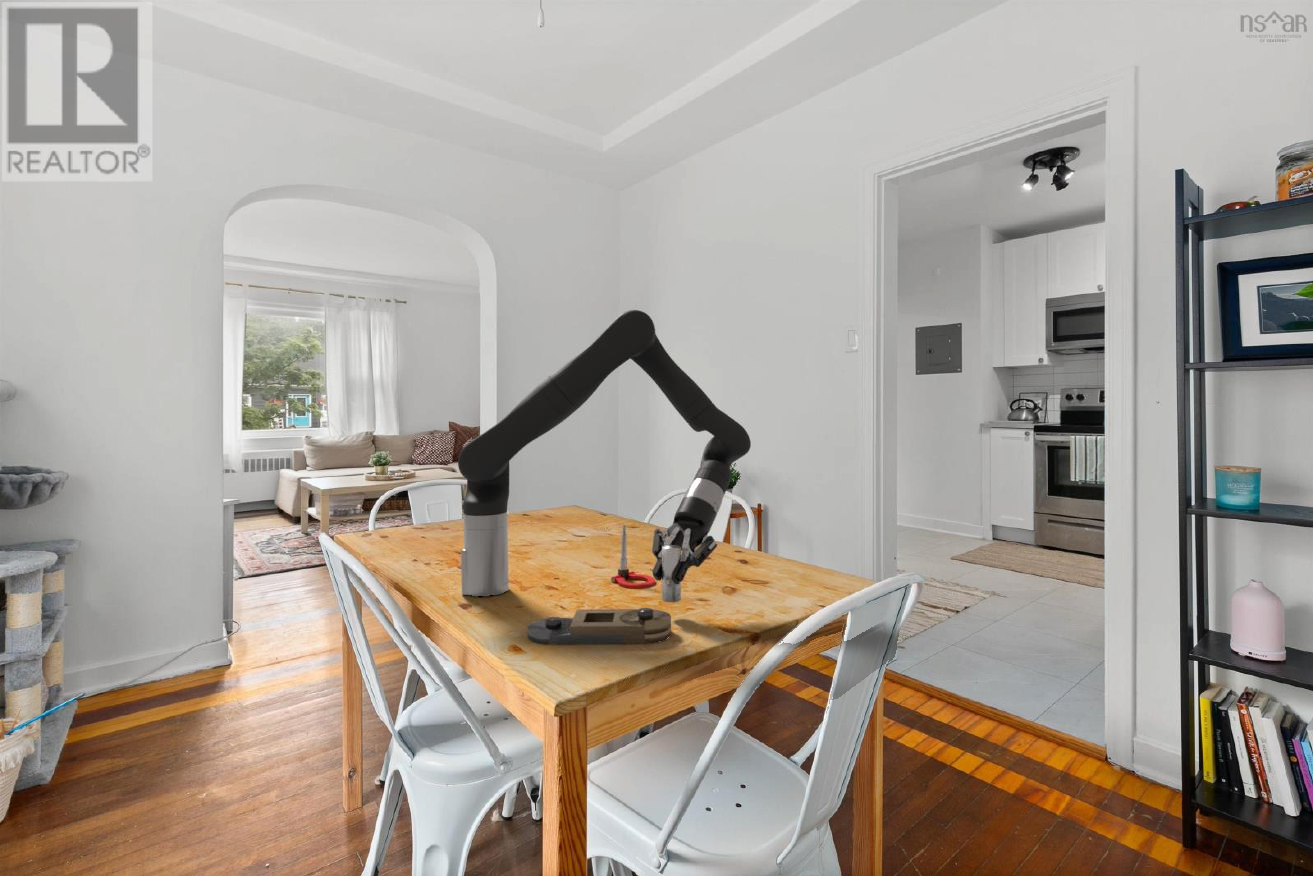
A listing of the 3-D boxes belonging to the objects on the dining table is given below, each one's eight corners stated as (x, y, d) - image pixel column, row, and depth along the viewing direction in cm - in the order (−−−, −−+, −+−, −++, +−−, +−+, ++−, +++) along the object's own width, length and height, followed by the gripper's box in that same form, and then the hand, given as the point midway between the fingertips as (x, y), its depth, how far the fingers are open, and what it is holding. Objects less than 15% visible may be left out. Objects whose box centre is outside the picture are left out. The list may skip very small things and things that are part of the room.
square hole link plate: (522, 644, 105) (522, 619, 105) (533, 626, 114) (532, 603, 114) (671, 643, 105) (671, 618, 105) (670, 625, 114) (670, 602, 114)
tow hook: (662, 584, 142) (633, 575, 149) (664, 528, 141) (634, 522, 148) (636, 593, 136) (607, 583, 143) (637, 534, 135) (608, 527, 142)
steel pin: (661, 602, 117) (662, 549, 116) (661, 596, 120) (661, 545, 120) (681, 602, 117) (681, 549, 116) (680, 596, 120) (680, 545, 120)
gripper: (663, 492, 128) (626, 563, 118) (724, 498, 120) (690, 574, 110) (677, 514, 132) (643, 584, 123) (737, 521, 124) (705, 597, 115)
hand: (665, 579), depth 117 cm, fingers closed on steel pin, 3 cm apart
